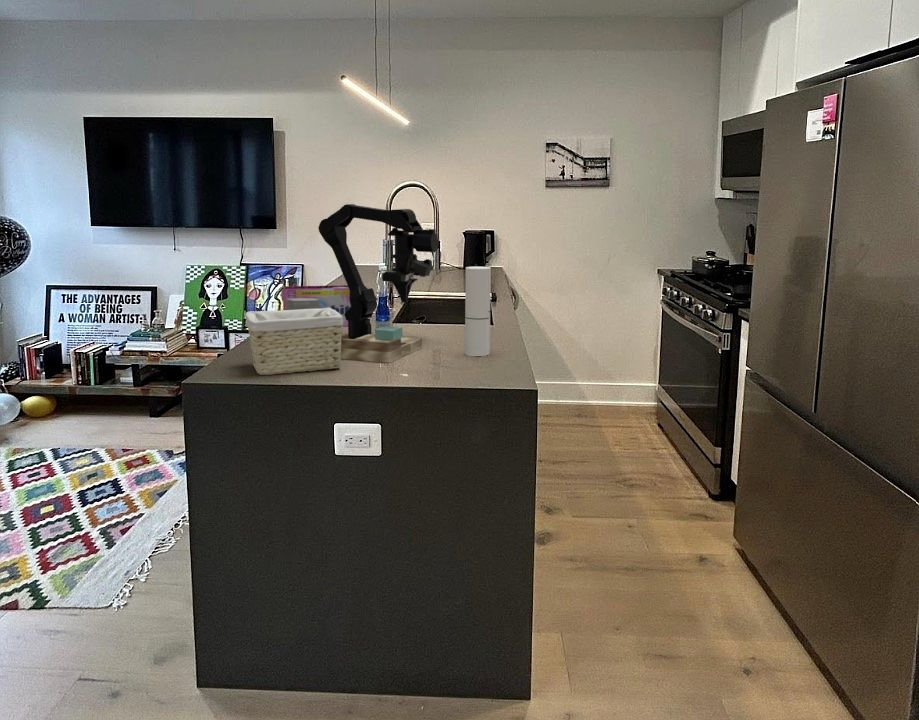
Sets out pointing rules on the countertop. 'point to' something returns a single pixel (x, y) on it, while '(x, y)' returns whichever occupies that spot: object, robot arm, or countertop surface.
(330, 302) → the gum box
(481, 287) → the cylindrical container
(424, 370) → the countertop surface
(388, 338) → the block
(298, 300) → the skincare box
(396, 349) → the wooden tray
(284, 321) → the storage basket
